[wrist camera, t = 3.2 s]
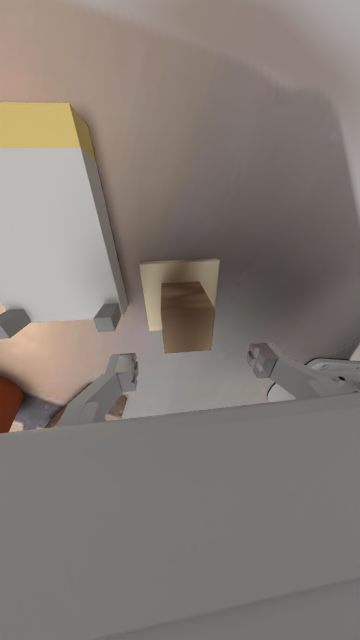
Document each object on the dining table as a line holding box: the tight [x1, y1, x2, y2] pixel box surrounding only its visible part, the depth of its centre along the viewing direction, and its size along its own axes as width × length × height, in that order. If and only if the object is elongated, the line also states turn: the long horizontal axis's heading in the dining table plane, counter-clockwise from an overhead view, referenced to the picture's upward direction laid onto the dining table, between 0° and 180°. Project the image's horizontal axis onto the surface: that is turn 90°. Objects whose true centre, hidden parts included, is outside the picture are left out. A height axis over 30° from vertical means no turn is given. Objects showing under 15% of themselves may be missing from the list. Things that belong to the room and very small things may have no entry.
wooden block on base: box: [139, 258, 220, 354], centre depth 18 cm, size 9×9×8 cm
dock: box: [0, 102, 128, 339], centre depth 14 cm, size 12×16×6 cm
